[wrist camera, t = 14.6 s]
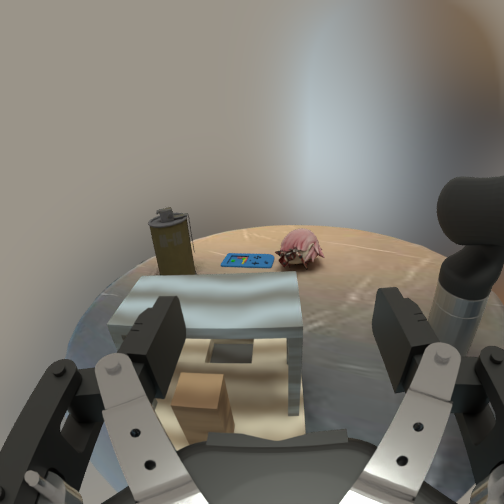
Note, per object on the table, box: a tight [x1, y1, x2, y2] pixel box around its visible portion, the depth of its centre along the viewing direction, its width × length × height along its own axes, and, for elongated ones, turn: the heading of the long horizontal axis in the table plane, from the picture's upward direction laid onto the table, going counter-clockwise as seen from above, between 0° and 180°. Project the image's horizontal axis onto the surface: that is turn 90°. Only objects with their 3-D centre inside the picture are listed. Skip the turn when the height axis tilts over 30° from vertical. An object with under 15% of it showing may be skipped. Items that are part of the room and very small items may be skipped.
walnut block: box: [171, 372, 235, 445], centre depth 32 cm, size 5×5×11 cm
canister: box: [148, 207, 197, 276], centre depth 79 cm, size 11×10×20 cm
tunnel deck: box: [107, 271, 305, 451], centre depth 41 cm, size 28×24×20 cm
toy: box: [275, 228, 324, 270], centre depth 81 cm, size 12×11×15 cm
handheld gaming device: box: [221, 253, 274, 268], centre depth 89 cm, size 8×1×15 cm
